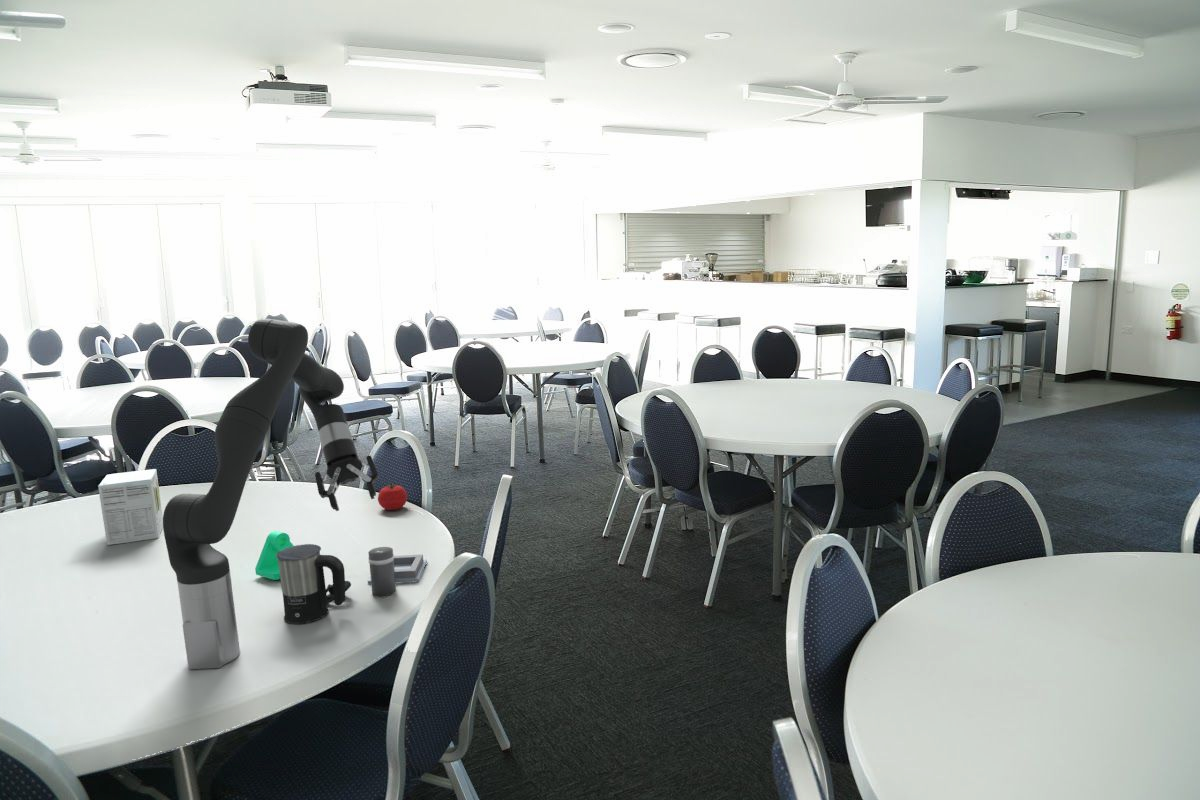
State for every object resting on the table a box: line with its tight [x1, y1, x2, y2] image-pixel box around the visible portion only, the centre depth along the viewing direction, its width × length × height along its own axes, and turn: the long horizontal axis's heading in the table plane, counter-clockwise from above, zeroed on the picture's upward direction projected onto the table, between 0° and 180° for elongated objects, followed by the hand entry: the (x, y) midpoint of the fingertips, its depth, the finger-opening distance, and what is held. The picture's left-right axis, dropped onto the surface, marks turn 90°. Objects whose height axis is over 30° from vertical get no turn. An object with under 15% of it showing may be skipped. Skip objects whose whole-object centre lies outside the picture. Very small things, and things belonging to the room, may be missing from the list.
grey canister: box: [368, 546, 397, 598], centre depth 188 cm, size 6×6×10 cm
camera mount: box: [255, 530, 295, 581], centre depth 202 cm, size 12×8×10 cm, turn 147°
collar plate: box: [367, 554, 428, 585], centre depth 199 cm, size 12×12×2 cm
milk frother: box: [276, 543, 352, 625], centre depth 180 cm, size 14×16×15 cm
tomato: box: [377, 483, 408, 511], centre depth 249 cm, size 9×9×8 cm
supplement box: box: [97, 468, 164, 546], centre depth 233 cm, size 13×13×18 cm
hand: (354, 503), depth 194 cm, fingers open, 8 cm apart
